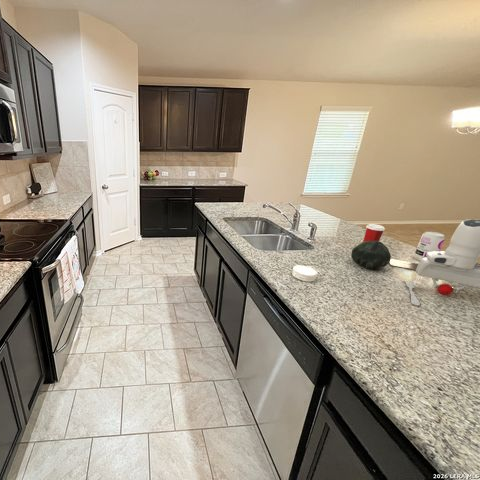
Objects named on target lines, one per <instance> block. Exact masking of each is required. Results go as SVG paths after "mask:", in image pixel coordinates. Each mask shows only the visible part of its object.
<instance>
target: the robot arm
mask: <svg viewBox="0 0 480 480" xmlns="http://www.w3.org/2000/svg"><path fill="white" fill-rule="evenodd" d="M426 257H427V258H424V259H422V260H421V261H419V263H417V264H418V266H417V268H416V271H415V272H416V274H417V275H418V276H421V277H426V278H430V279H431V281H432V289H435V290H437V289H438V288H439V287H440V283H437V282H439V281H444V282H448V283H455V284H458V285H456V286H451V287H452V288H453V291H452V293H453V294H458V293H459V291H460V290H462V289H464V288H466V286H469V287H474V288H477V289H480V263H478V261H479V260H480V219H479V218H478V219H477V218H470V219H464V220H463V221H461V223H459V225H458V226H457V227H456V229H455V230H454V232H453V234H452V236H451V238H450V243H449V245H448V246H447V247H446V249H445V250H440V251H439V252H428V253H427V254H426Z"/></svg>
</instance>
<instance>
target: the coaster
mask: <svg viewBox="0 0 480 480" xmlns="http://www.w3.org/2000/svg"><path fill="white" fill-rule="evenodd" d="M291 275H292V276H293V277H294V278H295V279H296V280H299V281H303V282H310V283H311V282H314V281H316V280H317V276H318V272H317V270H315V268H313V267H310V266H307V265H301V264H299V265H294V266H293V267H292V270H291Z"/></svg>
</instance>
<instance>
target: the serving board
mask: <svg viewBox="0 0 480 480" xmlns="http://www.w3.org/2000/svg"><path fill="white" fill-rule="evenodd" d="M388 264H389V265H390V266H391V267H395V268H400V269H404V270H409V271H415V272H416V268H417V266H418V264H419V263H416V262H413V261H412V262H411V261H405V260H400V259H397V258H396V259H395V258H391V259H390V262H389V263H388Z"/></svg>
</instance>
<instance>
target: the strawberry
mask: <svg viewBox="0 0 480 480" xmlns="http://www.w3.org/2000/svg"><path fill="white" fill-rule="evenodd" d="M439 285H440V287H439V288H438V289H436V291H437V292H438V293H439V294H441V295H451V294H452V293H453V292H452V291H453V288H452V287H453V286H451V285H450V284H448V283H439Z"/></svg>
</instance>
